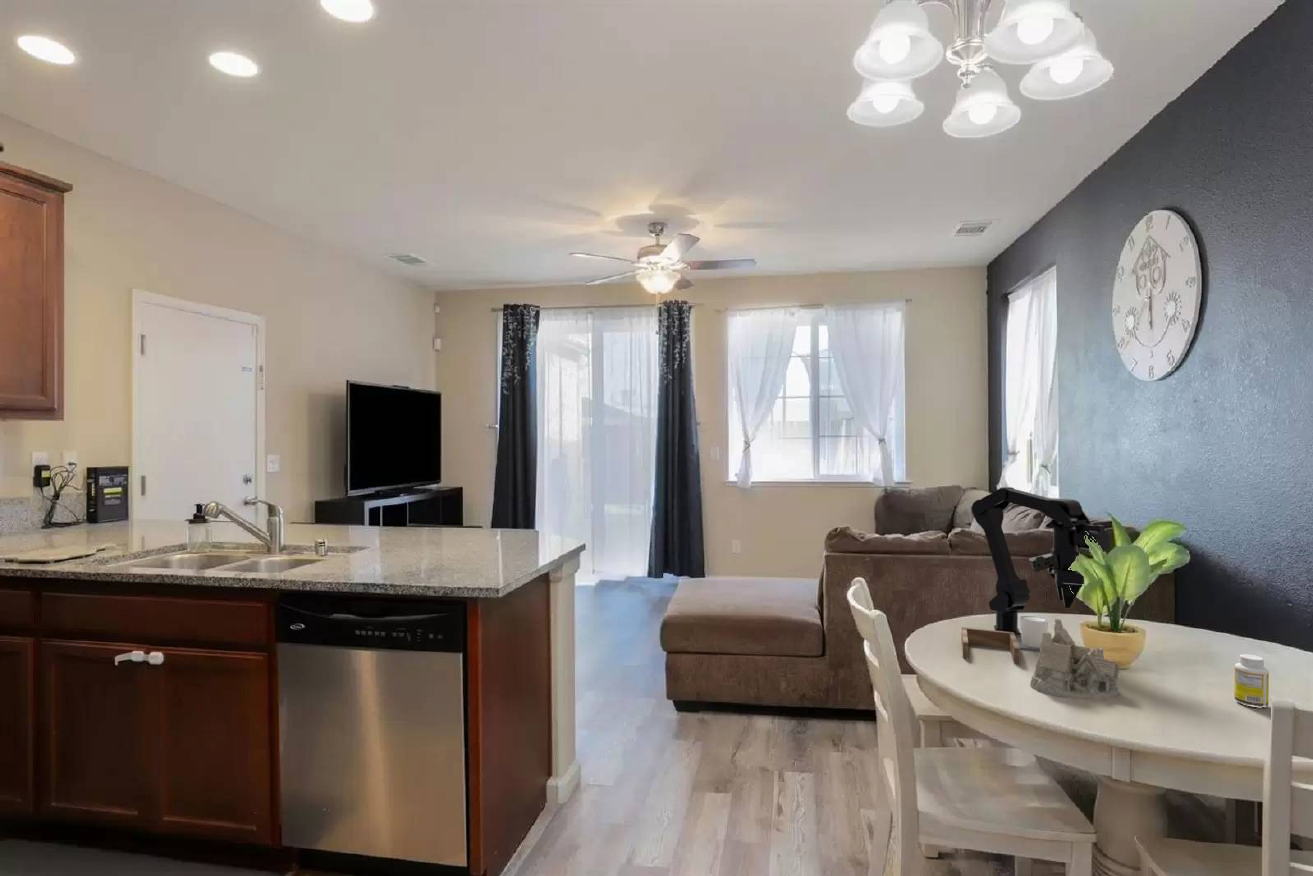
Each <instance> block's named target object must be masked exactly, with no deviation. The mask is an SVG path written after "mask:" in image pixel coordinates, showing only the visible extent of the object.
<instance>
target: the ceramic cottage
mask: <svg viewBox="0 0 1313 876" xmlns="http://www.w3.org/2000/svg"><path fill="white" fill-rule="evenodd" d="M1063 626H1064V625H1063V623H1062V619H1061V618H1055V619H1054V624H1053V630H1054V635H1053V637H1052V634H1051V632H1050V631H1047V632H1043V635H1042V641H1041V643H1040V652H1039V656H1038V660H1037V661H1036V662H1035V670H1034V671H1033V673H1032V676H1031V680H1030V684H1029V686H1030V688H1031V689H1032V690H1035V691H1036V692H1039V693H1043V694H1046V695H1051V696H1055V697H1057V696H1058V697H1062V698H1068V699H1069V698H1070V699H1071V698H1072V699H1074V698H1075V699H1094V700H1095V699H1097V700H1099V699H1100V700H1113V699H1116V698H1117V697H1118V696H1119V695H1120V691H1119V688H1118V686H1117V685H1116V684H1117V683H1118V681H1117V680H1119V677H1118V675H1119V674H1120V669H1119V666H1118V663H1117V661H1116V660H1111V659H1105V657H1104V649H1103V648H1102V647H1100V646H1098V647H1096V650H1095V648H1094V647H1092V648H1090V647H1088V646H1087V647H1086V646H1082V645H1076V643H1075V641H1074V640H1073V638H1072V636H1071V635H1069V633H1068V630H1067V629H1066V628H1064V627H1063Z"/></svg>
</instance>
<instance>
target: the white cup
mask: <svg viewBox="0 0 1313 876" xmlns="http://www.w3.org/2000/svg"><path fill="white" fill-rule="evenodd" d="M1019 623H1020V624H1019V625H1020V636H1021V639H1022V644H1024V645H1026V646H1030V647H1038V648H1040V643H1041V641H1042V635H1043V632H1048V627H1049V620H1048V619H1047V618H1044V617H1040V616H1039V617H1038V616H1032V615H1022V616H1020V617H1019Z"/></svg>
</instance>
